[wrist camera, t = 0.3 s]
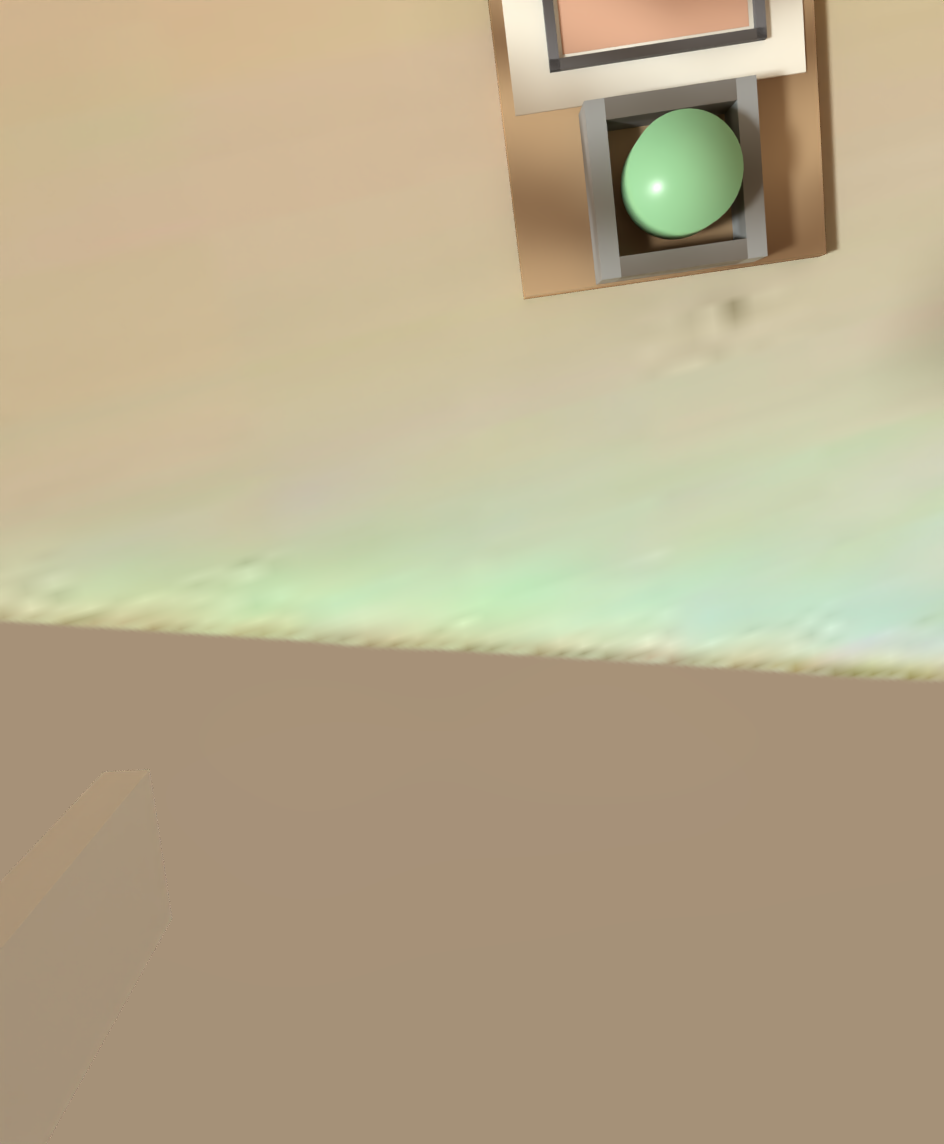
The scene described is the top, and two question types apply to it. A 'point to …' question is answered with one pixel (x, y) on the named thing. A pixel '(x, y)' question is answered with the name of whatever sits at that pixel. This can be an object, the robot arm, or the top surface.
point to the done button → (682, 174)
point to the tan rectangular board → (629, 105)
